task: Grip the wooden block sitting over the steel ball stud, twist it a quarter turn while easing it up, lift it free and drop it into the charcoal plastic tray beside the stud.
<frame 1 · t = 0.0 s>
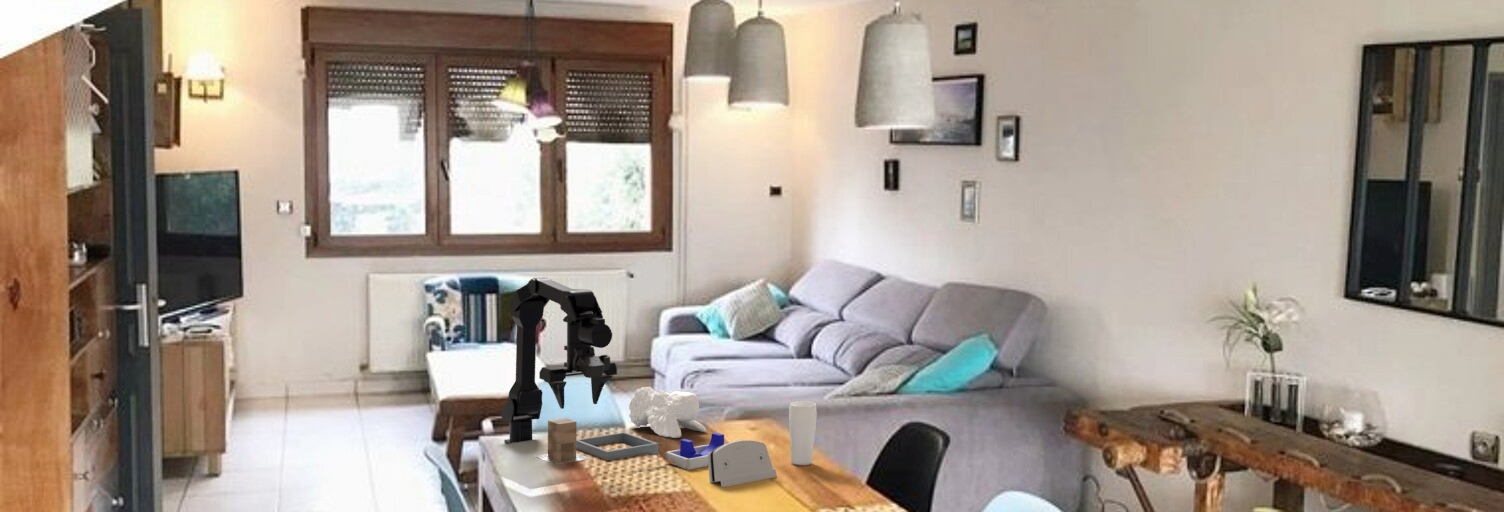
hand: (578, 406, 311), 15 cm above the table, fingers open, 9 cm apart
drinking glass: (801, 464, 318), on the table
tray: (615, 455, 323), on the table
cable clip: (704, 462, 319), resting in clip organiser
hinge: (740, 479, 304), on the table
stud plate: (562, 463, 314), on the table
wooden block: (562, 457, 314), point 1 cm above the table, touching stud plate
cherub figurine: (669, 431, 352), on the table
clip organiser: (704, 460, 319), on the table
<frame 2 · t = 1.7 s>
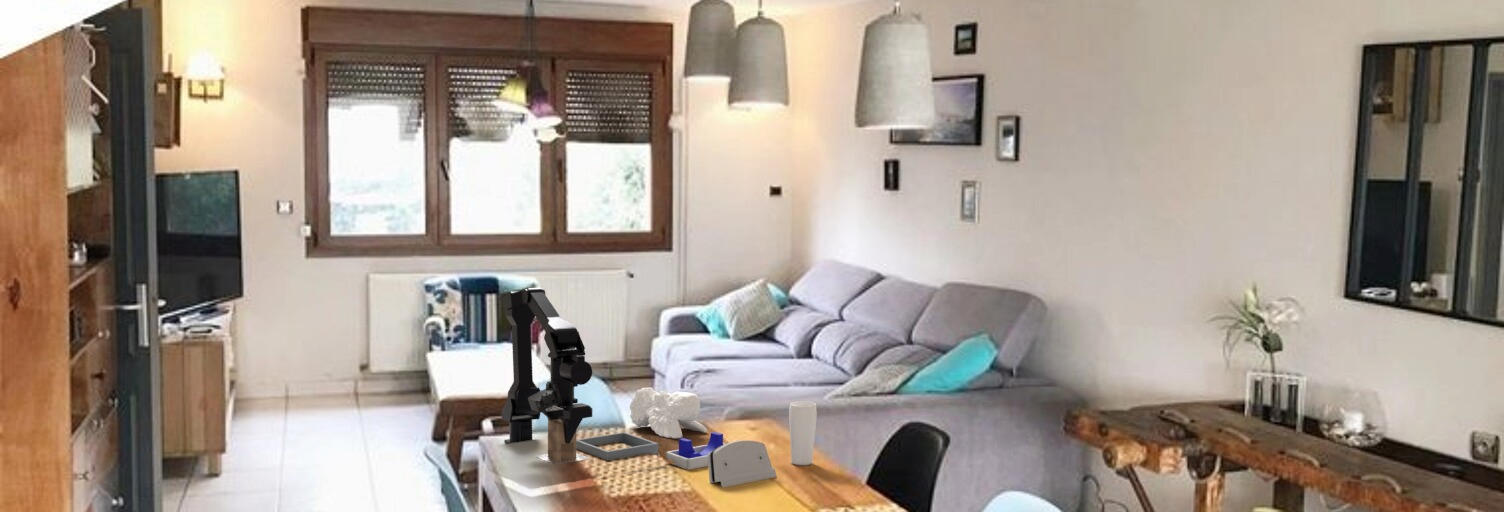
hand: (562, 441, 314), 6 cm above the table, fingers closed on wooden block, 5 cm apart
wooden block: (562, 457, 314), point 1 cm above the table, touching gripper, stud plate
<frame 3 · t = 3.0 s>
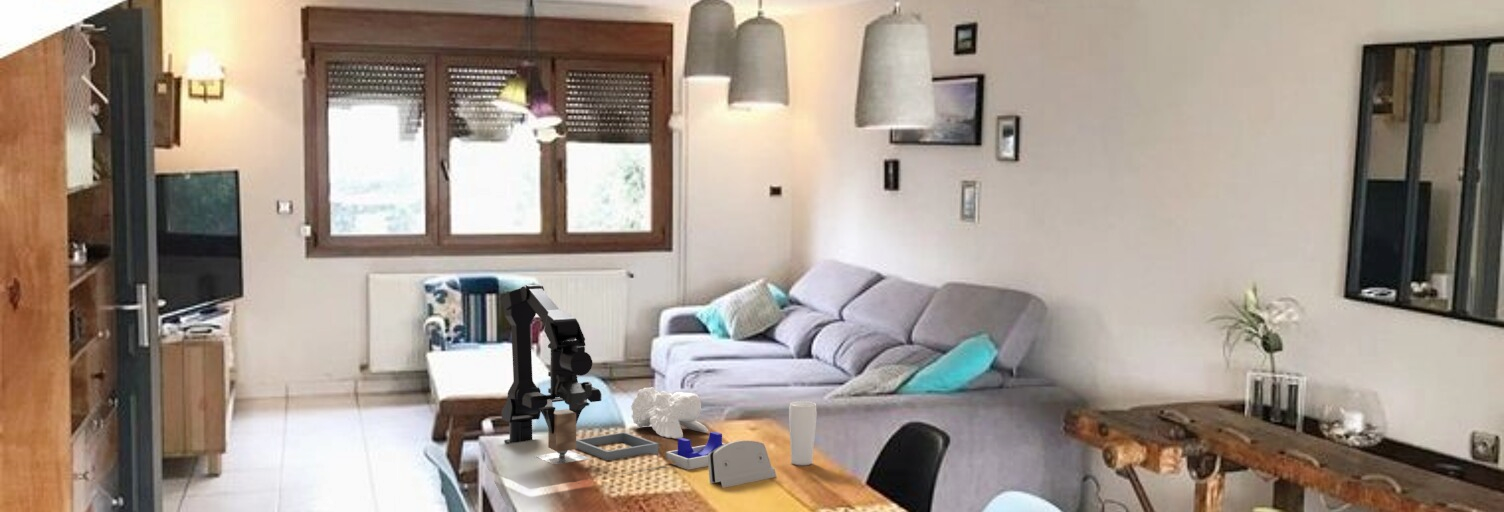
hand: (562, 432, 314), 8 cm above the table, fingers closed on wooden block, 5 cm apart
wooden block: (562, 448, 314), point 4 cm above the table, touching gripper
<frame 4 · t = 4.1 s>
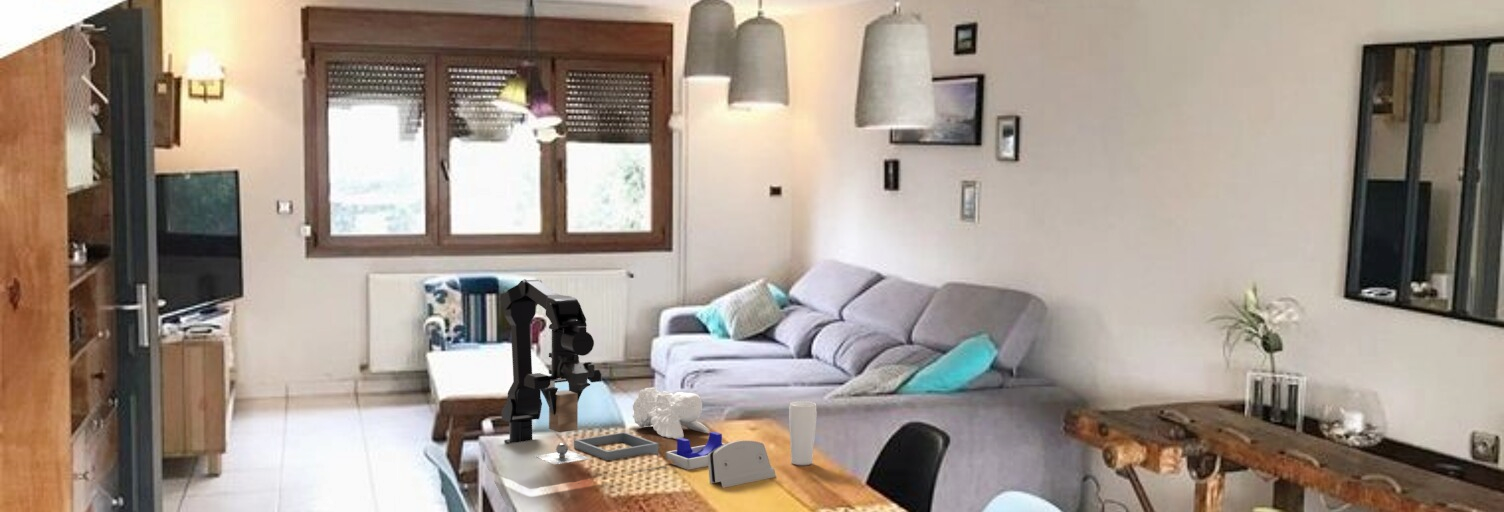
hand: (563, 412, 313), 12 cm above the table, fingers closed on wooden block, 5 cm apart
wooden block: (563, 429, 314), point 8 cm above the table, touching gripper
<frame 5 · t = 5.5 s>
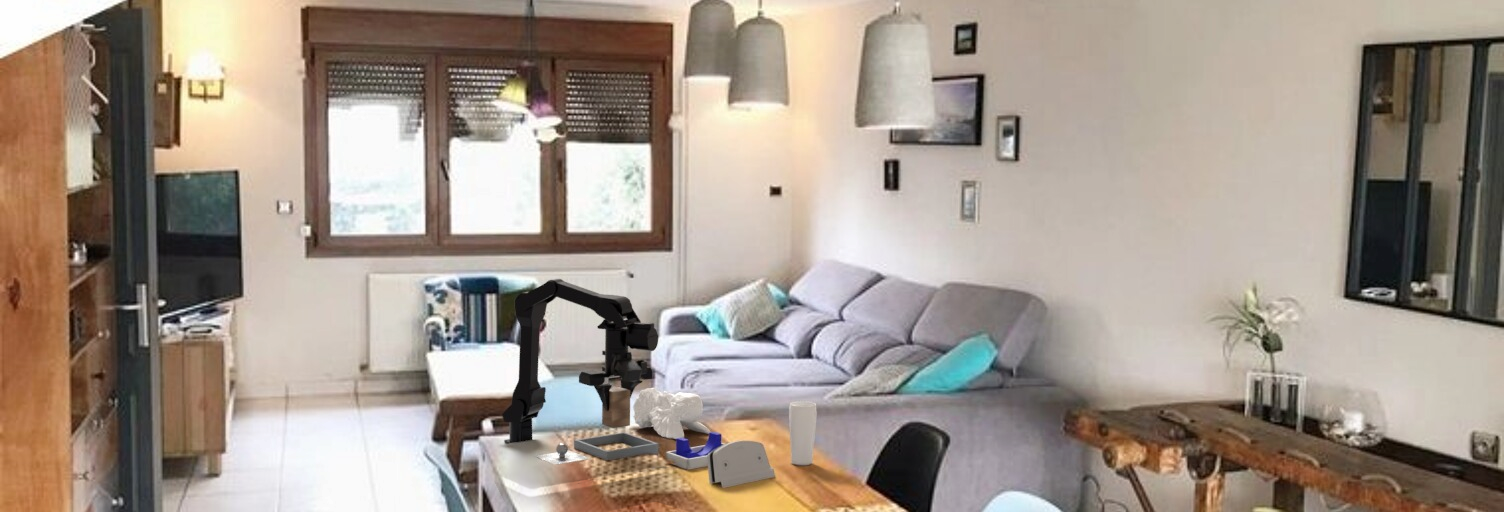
hand: (616, 409, 322), 12 cm above the table, fingers closed on wooden block, 5 cm apart
wooden block: (616, 425, 322), point 8 cm above the table, touching gripper
when the fingers open (7 cm above the table, at t = 6.6 s): wooden block drops 2 cm, resting on tray.
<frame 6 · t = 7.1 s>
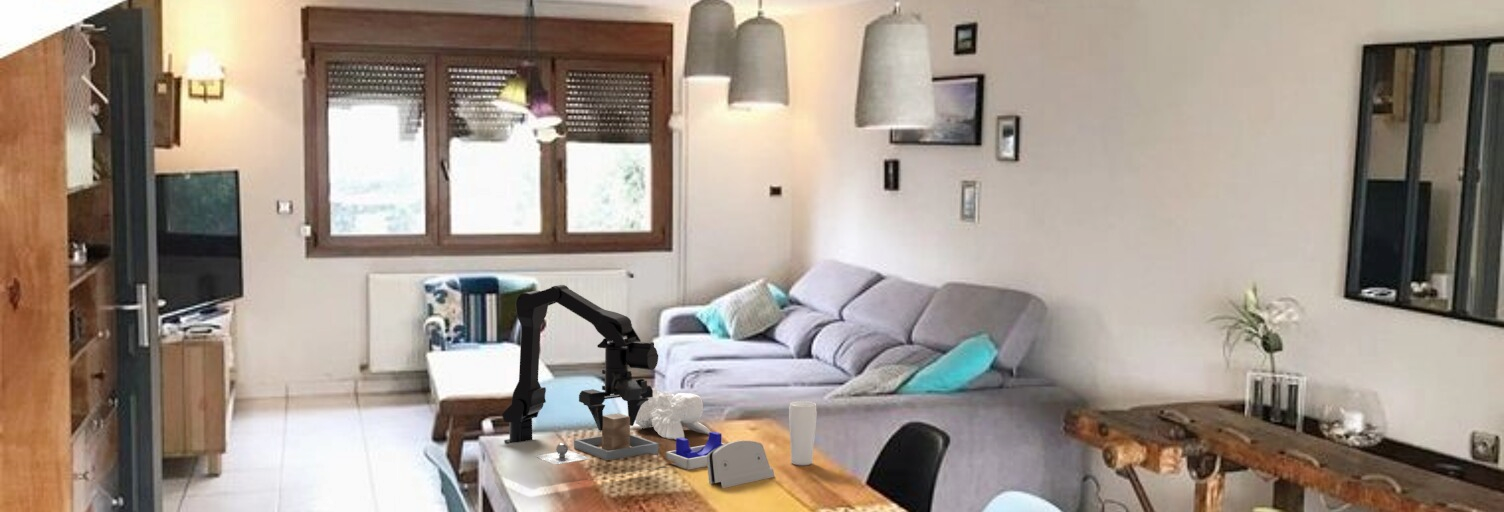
hand: (616, 427, 322), 7 cm above the table, fingers open, 9 cm apart
wooden block: (615, 451, 323), point 1 cm above the table, touching tray
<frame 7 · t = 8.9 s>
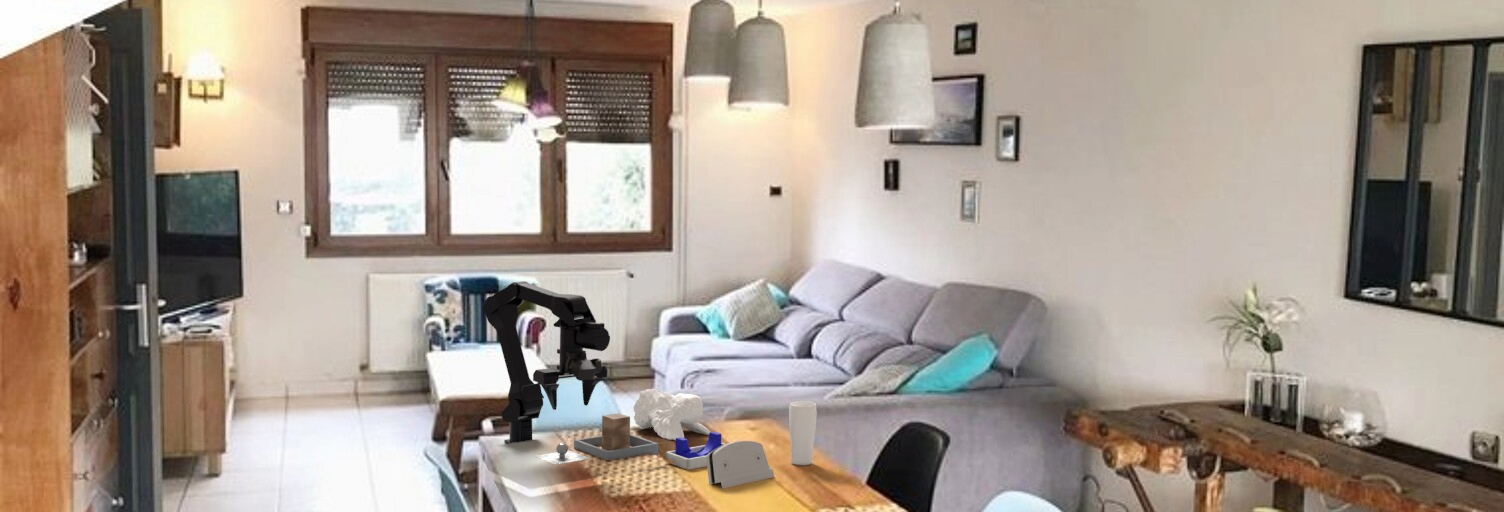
hand: (570, 407, 323), 12 cm above the table, fingers open, 9 cm apart
cable clip: (700, 460, 321), resting in clip organiser
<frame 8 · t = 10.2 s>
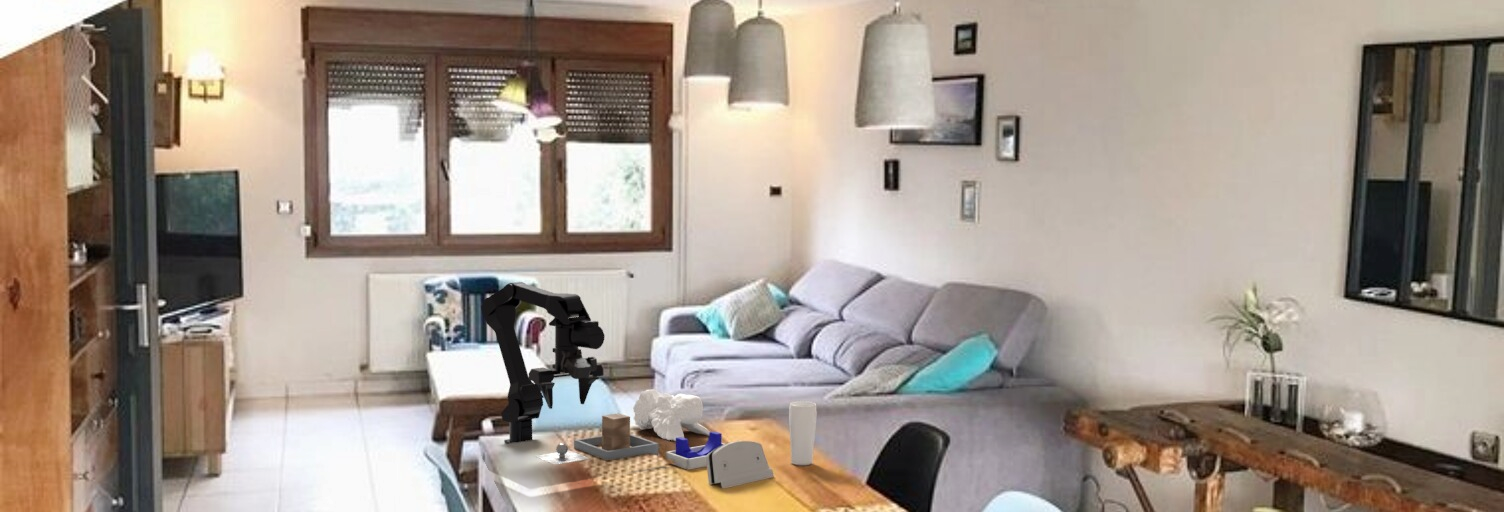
hand: (566, 406, 323), 12 cm above the table, fingers open, 9 cm apart
cable clip: (700, 460, 321), resting in clip organiser
at the end: wooden block inside the target area on the tray (0.0 cm from its centre), point 1.0 cm above the tray's base; wooden block tilted 0°; the gripper is holding nothing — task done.
